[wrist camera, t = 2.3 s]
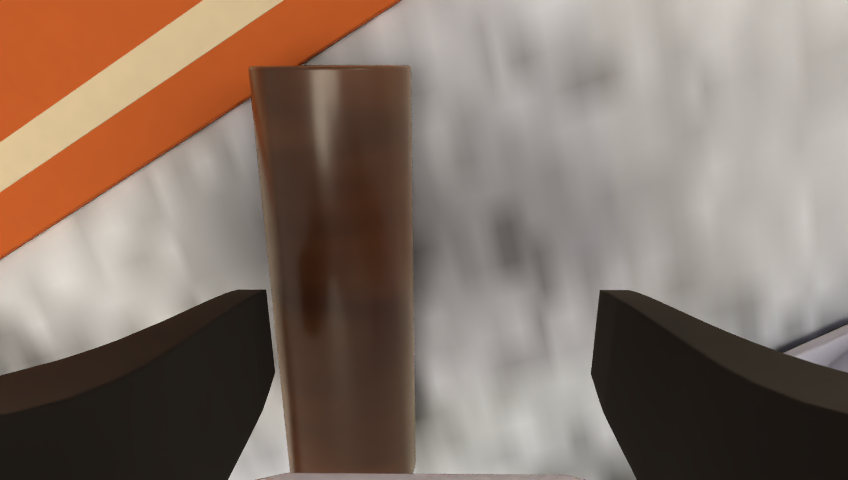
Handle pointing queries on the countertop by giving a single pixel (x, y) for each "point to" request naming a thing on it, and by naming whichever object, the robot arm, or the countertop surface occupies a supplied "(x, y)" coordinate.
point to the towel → (131, 86)
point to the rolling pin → (340, 260)
